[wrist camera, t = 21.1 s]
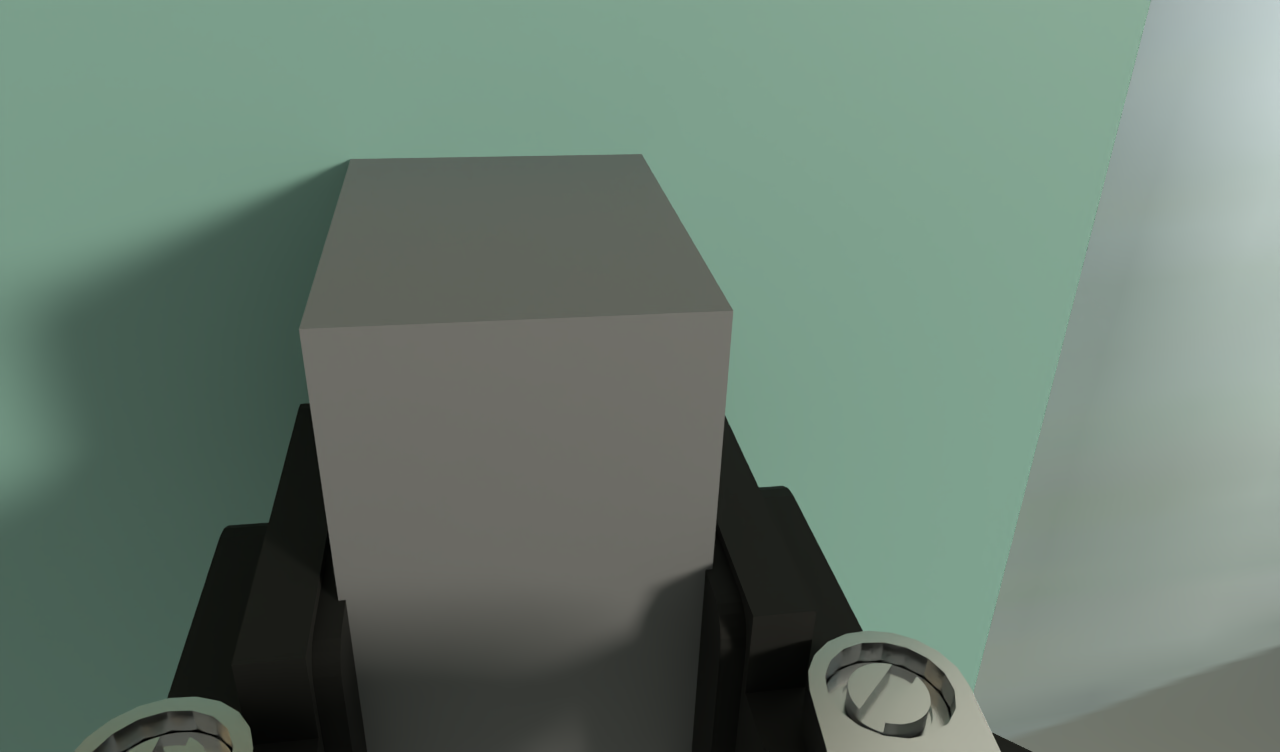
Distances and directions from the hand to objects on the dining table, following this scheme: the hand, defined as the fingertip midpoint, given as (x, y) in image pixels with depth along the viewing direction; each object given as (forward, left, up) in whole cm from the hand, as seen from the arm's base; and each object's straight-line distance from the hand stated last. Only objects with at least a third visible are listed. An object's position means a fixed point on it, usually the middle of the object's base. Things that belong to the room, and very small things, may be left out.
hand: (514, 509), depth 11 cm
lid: (-2, 0, -2) cm, 3 cm away
